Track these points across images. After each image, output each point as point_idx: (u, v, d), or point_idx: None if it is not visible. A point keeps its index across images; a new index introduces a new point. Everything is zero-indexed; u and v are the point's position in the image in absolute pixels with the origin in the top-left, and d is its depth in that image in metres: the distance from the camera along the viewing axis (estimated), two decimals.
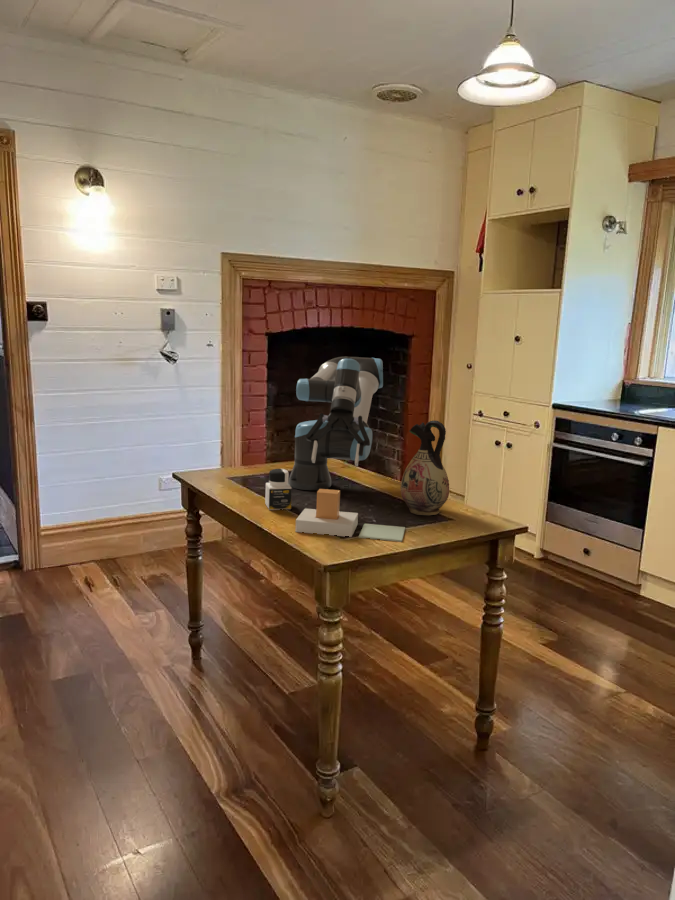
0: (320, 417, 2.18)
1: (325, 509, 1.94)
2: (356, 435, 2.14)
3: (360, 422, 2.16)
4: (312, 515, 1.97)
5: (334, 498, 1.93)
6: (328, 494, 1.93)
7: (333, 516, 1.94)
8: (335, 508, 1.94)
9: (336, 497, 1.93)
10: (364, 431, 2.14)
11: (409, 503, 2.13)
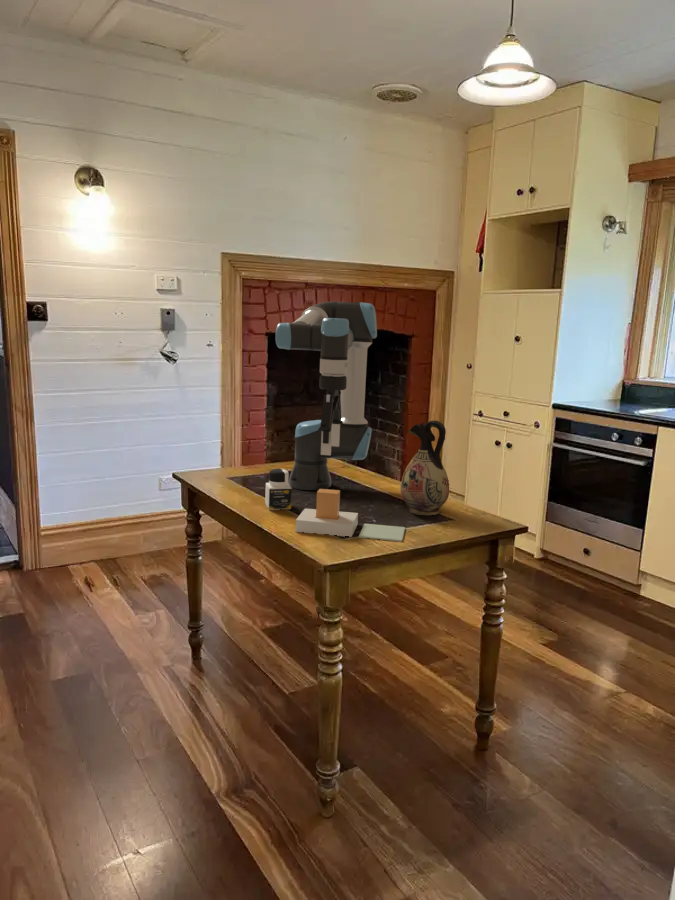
0: (332, 400, 1.84)
1: (325, 509, 1.94)
2: (339, 415, 1.96)
3: (340, 398, 1.96)
4: (312, 515, 1.97)
5: (334, 498, 1.93)
6: (328, 494, 1.93)
7: (333, 516, 1.94)
8: (335, 508, 1.94)
9: (336, 497, 1.93)
10: (340, 408, 1.98)
11: (409, 503, 2.13)
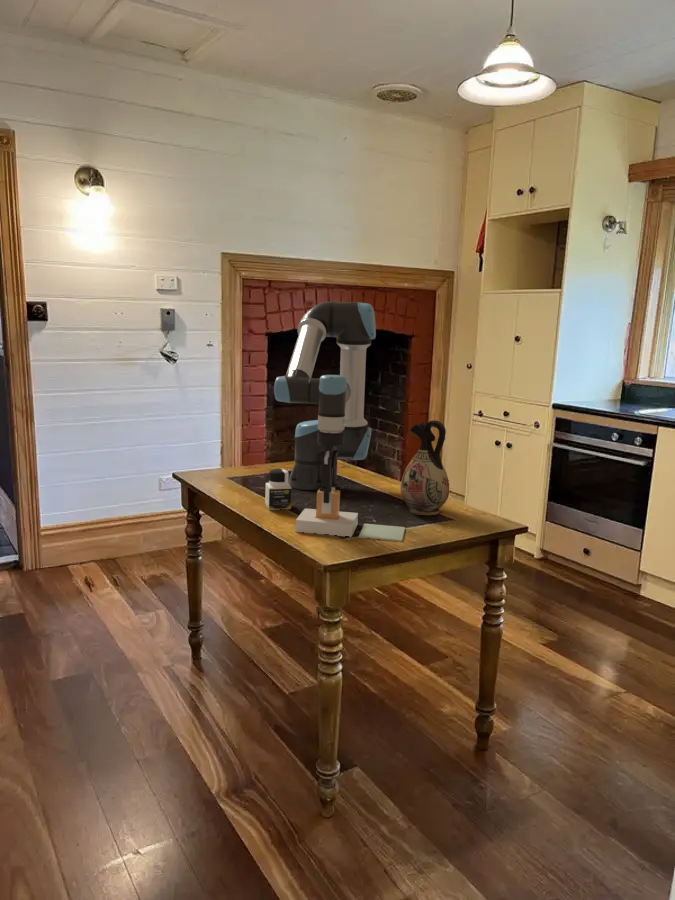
0: (330, 462, 1.87)
1: None
2: (334, 475, 1.97)
3: (337, 457, 1.98)
4: (312, 515, 1.97)
5: (334, 498, 1.93)
6: None
7: (333, 516, 1.94)
8: (335, 508, 1.94)
9: (336, 497, 1.93)
10: (336, 469, 1.99)
11: (409, 503, 2.13)
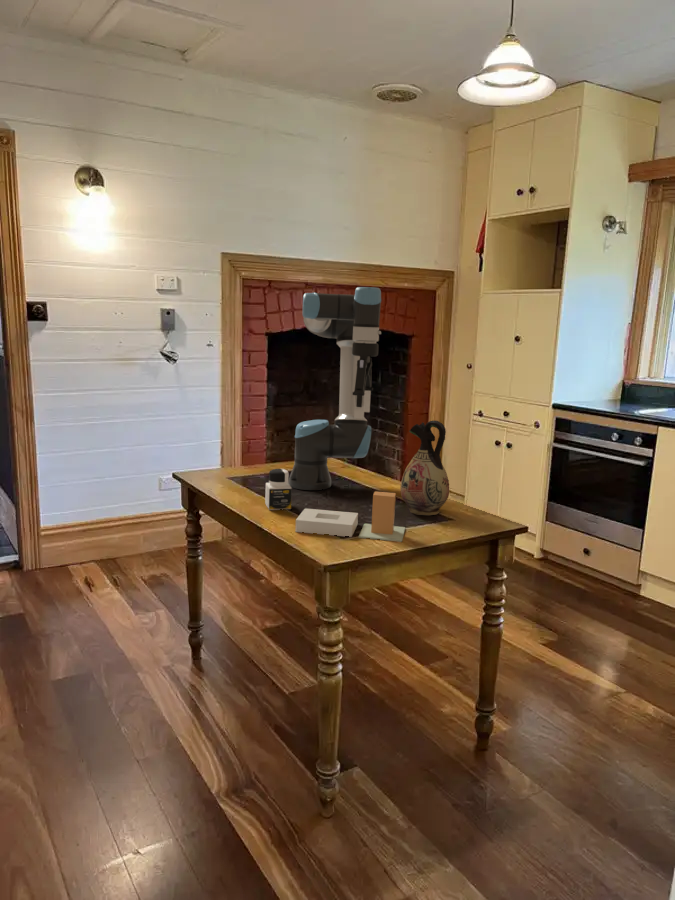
0: (365, 366, 1.92)
1: (381, 512, 1.92)
2: (370, 381, 2.05)
3: None
4: (312, 515, 1.97)
5: (391, 501, 1.91)
6: (384, 497, 1.91)
7: (390, 519, 1.92)
8: (391, 511, 1.91)
9: (393, 500, 1.90)
10: (371, 375, 2.07)
11: (409, 503, 2.13)
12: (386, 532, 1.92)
